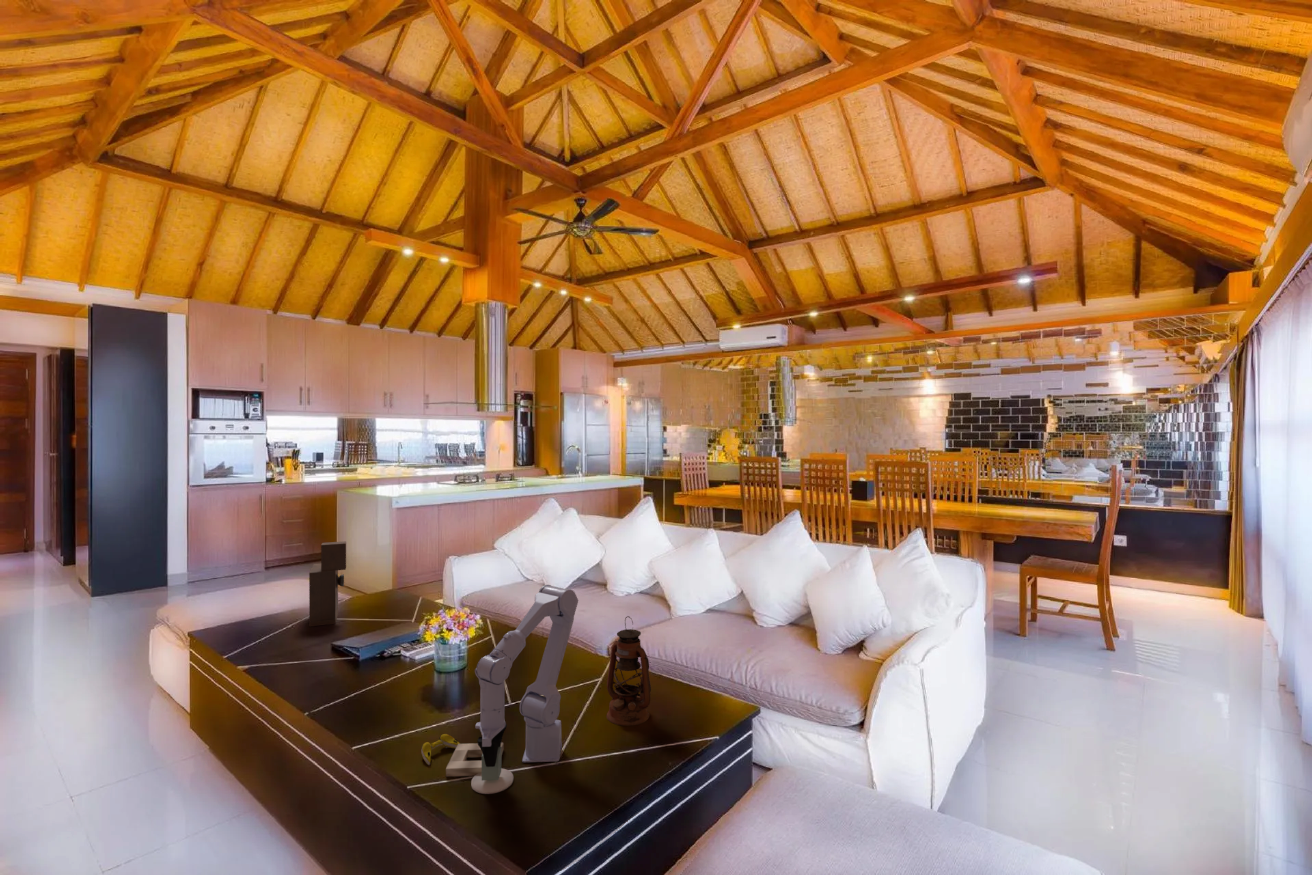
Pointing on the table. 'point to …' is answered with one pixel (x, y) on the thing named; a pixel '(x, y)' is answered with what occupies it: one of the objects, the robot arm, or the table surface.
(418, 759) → the table surface
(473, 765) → the board
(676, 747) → the table surface
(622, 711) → the lantern
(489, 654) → the robot arm
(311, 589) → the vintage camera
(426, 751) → the game controller
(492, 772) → the block
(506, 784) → the coaster
